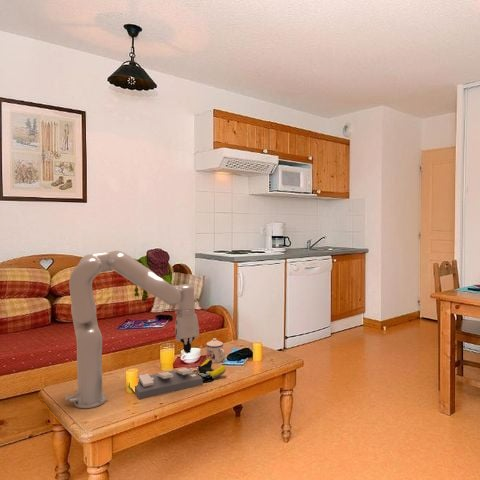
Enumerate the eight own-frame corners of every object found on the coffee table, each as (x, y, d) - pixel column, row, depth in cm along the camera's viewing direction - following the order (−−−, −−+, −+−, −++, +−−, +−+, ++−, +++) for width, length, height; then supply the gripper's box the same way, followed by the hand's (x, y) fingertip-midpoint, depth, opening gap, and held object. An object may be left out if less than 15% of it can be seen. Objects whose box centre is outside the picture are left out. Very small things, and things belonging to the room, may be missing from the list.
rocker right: (183, 374, 182) (182, 371, 182) (175, 371, 190) (174, 368, 190) (192, 372, 184) (191, 369, 184) (183, 369, 192) (183, 366, 192)
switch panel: (139, 399, 169) (139, 390, 168) (128, 385, 182) (128, 377, 182) (202, 384, 183) (202, 376, 183) (188, 373, 197) (188, 365, 197)
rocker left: (143, 386, 173) (143, 384, 172) (136, 375, 181) (136, 372, 181) (153, 384, 175) (153, 381, 175) (146, 373, 183) (146, 370, 183)
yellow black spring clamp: (209, 368, 204) (192, 373, 198) (209, 357, 204) (192, 362, 198) (227, 377, 193) (210, 382, 186) (227, 366, 192) (210, 370, 186)
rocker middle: (163, 378, 177) (163, 375, 177) (156, 375, 186) (156, 372, 186) (173, 376, 179) (173, 373, 179) (165, 373, 188) (165, 370, 188)
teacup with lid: (202, 360, 216) (202, 338, 215) (215, 356, 223) (215, 335, 222) (217, 365, 208) (217, 343, 207) (230, 361, 214) (230, 339, 214)
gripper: (173, 316, 176) (174, 357, 176) (204, 311, 183) (205, 351, 184) (167, 312, 182) (168, 352, 183) (197, 308, 190) (198, 347, 191)
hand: (187, 352), depth 184 cm, fingers closed
